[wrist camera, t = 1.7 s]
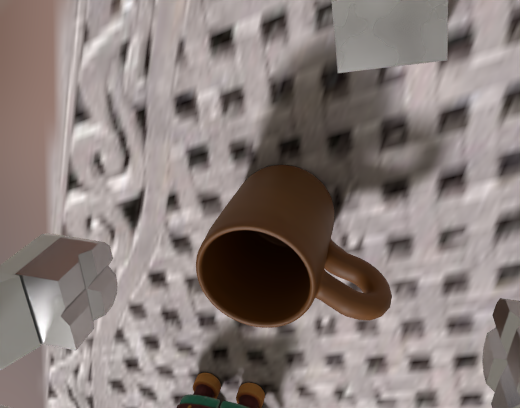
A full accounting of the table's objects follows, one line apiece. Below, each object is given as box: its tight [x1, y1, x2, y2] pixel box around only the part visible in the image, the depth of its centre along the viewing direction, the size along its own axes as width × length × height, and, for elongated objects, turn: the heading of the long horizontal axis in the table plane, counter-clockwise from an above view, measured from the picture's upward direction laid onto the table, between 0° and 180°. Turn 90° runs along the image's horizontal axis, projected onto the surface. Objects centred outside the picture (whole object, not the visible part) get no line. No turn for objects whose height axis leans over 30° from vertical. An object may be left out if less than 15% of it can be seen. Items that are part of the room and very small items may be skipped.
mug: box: [196, 165, 392, 327], centre depth 30 cm, size 12×8×9 cm, turn 77°
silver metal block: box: [332, 0, 448, 73], centre depth 23 cm, size 5×5×6 cm
